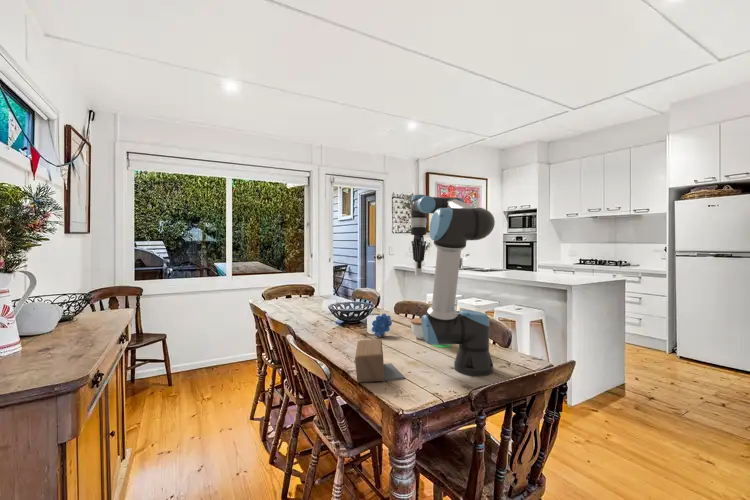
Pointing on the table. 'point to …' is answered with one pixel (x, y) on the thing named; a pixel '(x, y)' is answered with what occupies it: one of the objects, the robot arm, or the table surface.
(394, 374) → the rubber mat
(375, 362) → the wooden block
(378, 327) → the grapes
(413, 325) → the lidded bowl
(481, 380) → the table surface
